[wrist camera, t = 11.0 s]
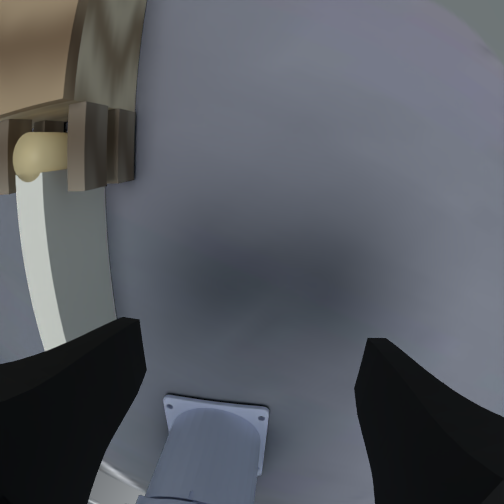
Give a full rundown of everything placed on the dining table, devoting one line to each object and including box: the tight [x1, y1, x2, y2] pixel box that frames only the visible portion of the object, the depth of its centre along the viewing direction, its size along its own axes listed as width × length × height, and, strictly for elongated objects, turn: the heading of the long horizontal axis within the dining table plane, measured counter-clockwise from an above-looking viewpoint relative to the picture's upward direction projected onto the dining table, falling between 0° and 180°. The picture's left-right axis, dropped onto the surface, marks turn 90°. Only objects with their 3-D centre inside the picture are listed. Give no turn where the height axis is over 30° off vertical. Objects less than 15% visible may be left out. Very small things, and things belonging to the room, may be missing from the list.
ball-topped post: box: [13, 132, 117, 351], centre depth 17 cm, size 17×2×6 cm, turn 178°
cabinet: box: [0, 0, 147, 195], centre depth 13 cm, size 12×16×7 cm
